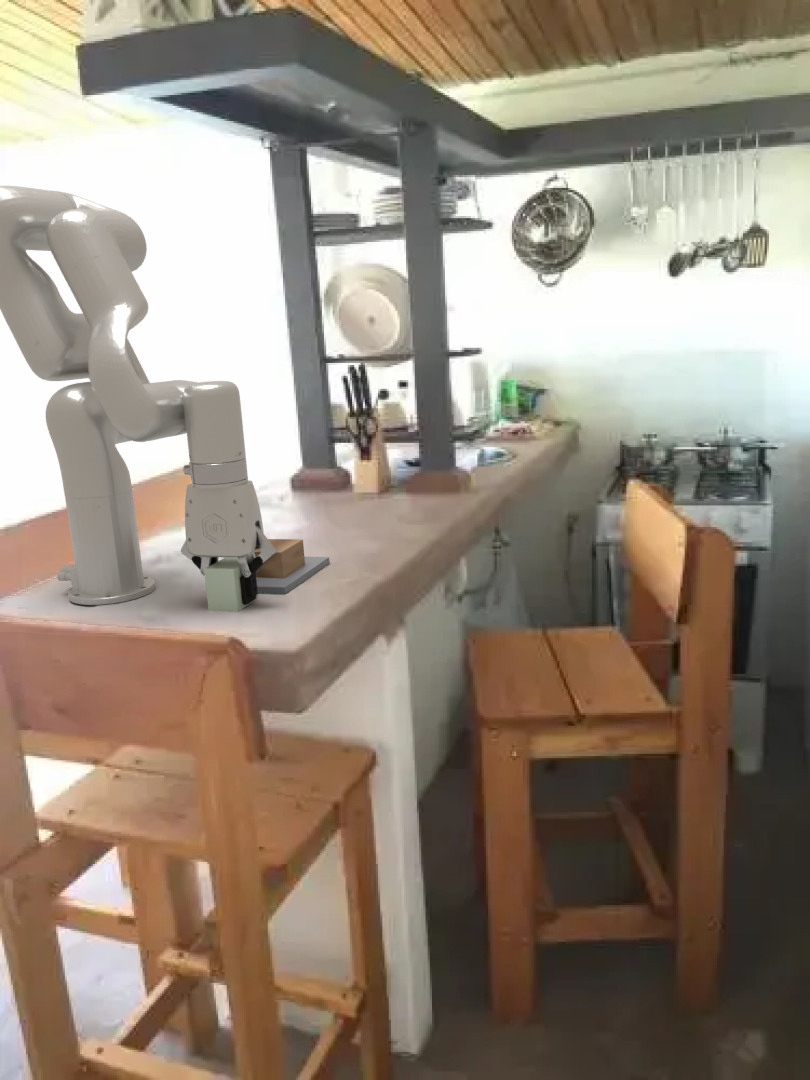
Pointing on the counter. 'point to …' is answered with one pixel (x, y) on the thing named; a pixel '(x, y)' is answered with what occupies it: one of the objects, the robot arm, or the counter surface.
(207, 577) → the sage block
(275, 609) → the counter surface
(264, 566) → the walnut base block
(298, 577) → the slate baseplate
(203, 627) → the counter surface
